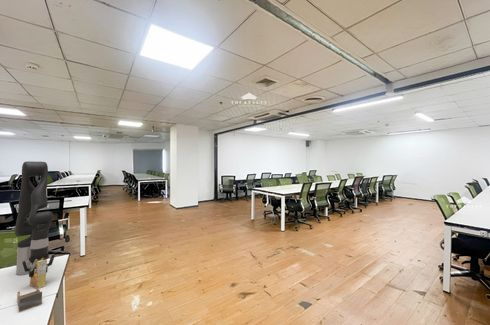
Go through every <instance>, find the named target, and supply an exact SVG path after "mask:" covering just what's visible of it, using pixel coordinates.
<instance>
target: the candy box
mask: <svg viewBox="0 0 490 325" xmlns="http://www.w3.org/2000/svg"><path fill="white" fill-rule="evenodd" d="M31 264H32V263H31ZM47 264H48V258H47V259H42V260H41V259H40V260H38V261H36V263H35V267H34V268H33V277H32V278H31V277H29V285H30V286H31V287H32V288H35V289H36V287H37V286H39V289H40V288H43V287H45V286H46V280H47V273H46V268H47Z"/></svg>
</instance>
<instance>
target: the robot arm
mask: <svg viewBox="0 0 490 325" xmlns="http://www.w3.org/2000/svg"><path fill="white" fill-rule="evenodd" d="M48 176H49V168H48V163H47V162H45V161H24V162H23V163H22V166H21V185H20V192H19V196H18V197H19V198H18V210H17V211H18V212H17V217H16V223H15V226H14V227H15V228H14V235H15V237H24V236H28V237H25V239H23V240H20V241H18V242H17V248H16V250H17V252H16V270H15V272H16V273H15V274H16V275H18V276H21V275H22V276H23V275H28V277H29V278H30V277H31V278H32V277H33V268H34V267H35V263H36V261H38V260H40V259H41V260H42V259H47V260H48V258H49V261H48V262H47V268H46V274H47V273H48V270H49V268H48V267H49V266H52V265H53V262H54V259H55V254H54V253H52V254H49V245H50V244H49V230H50V227H51V224H52V222H53V219H54V214H53V212H52V211H49V210H47V211H39V210H43V209H46V208H47V207H48V204H49V203H48V193H47V192H48V190H47V189H48ZM30 177H40V180H39V182H38V184H37V185H36V187H35V185H34V184H33V183H32V181H31V180H30ZM38 211H39V212H38ZM26 219H27V220H26ZM40 225H41V226H40ZM31 263H32V264H31Z"/></svg>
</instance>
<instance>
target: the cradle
mask: <svg viewBox="0 0 490 325" xmlns="http://www.w3.org/2000/svg"><path fill="white" fill-rule="evenodd" d="M16 293H17V295H16V296H17V298H16V299H17V308H18V313H20V312H23V311H26V310H29V309H32V308H34V307H37V306H40V305H42V302H43V301H42V300H43V291H41V290H40V288H39V286H37V287H36V288H35V291H33V292H29V293H25V294H23V295H21V293H20V291H17V292H16Z"/></svg>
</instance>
